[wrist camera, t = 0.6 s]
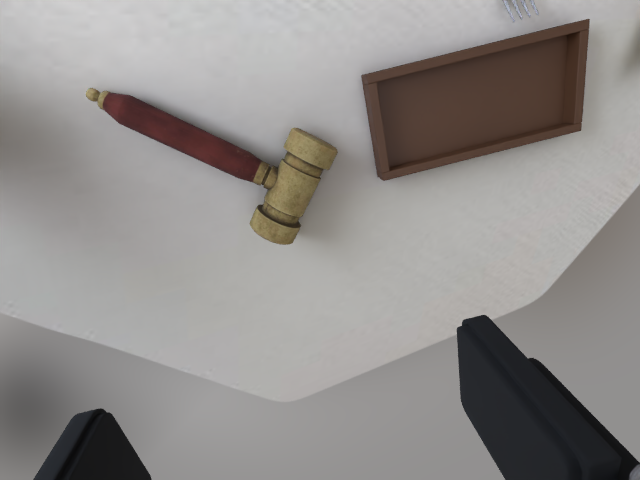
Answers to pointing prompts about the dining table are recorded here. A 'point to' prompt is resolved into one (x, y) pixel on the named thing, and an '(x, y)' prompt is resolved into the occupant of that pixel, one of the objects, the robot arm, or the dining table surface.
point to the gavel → (236, 161)
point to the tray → (477, 100)
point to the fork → (518, 8)
